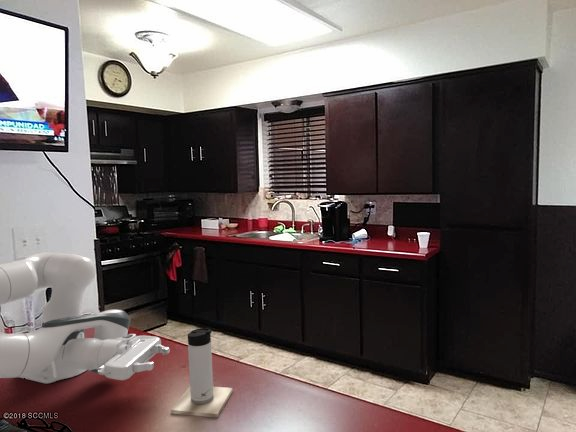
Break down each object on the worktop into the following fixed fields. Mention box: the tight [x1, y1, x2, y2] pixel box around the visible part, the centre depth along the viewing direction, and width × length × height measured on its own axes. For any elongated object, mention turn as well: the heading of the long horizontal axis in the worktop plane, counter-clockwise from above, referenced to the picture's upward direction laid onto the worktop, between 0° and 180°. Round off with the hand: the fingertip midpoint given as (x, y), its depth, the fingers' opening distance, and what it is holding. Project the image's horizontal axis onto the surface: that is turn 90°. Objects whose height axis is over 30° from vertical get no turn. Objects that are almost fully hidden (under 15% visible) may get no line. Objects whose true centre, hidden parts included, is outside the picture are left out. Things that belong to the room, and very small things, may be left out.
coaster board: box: [170, 385, 234, 418], centre depth 117 cm, size 13×13×1 cm
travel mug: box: [187, 327, 214, 405], centre depth 116 cm, size 6×7×20 cm
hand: (160, 358), depth 118 cm, fingers open, 8 cm apart
